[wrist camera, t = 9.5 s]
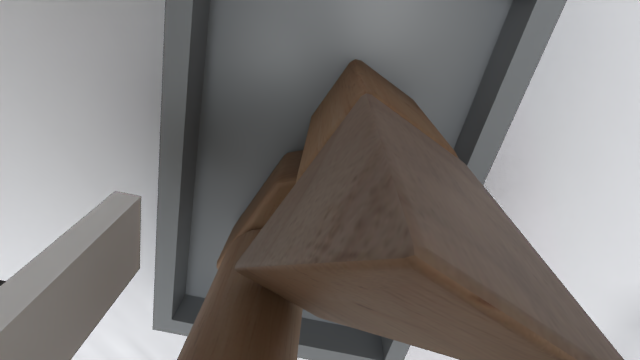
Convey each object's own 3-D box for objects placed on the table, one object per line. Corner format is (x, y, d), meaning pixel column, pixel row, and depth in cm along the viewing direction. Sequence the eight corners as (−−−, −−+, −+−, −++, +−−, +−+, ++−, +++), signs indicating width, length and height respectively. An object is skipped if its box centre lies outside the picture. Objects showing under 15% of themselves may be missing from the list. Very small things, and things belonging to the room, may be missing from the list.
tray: (201, -114, 15) (170, -141, 12) (539, -28, 15) (582, -34, 13) (174, 291, 23) (152, 329, 21) (389, 334, 24) (396, 376, 22)
